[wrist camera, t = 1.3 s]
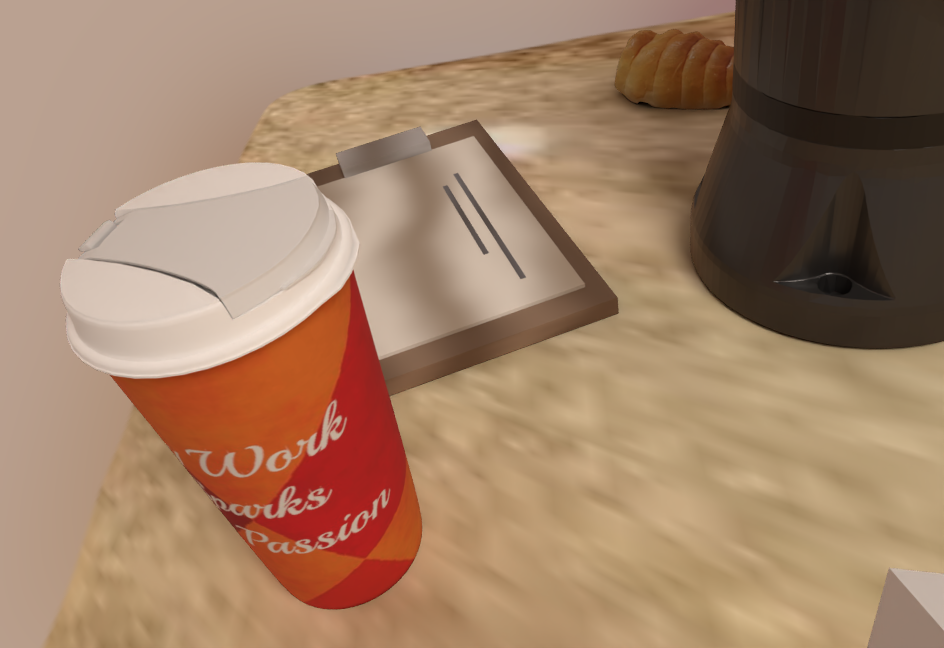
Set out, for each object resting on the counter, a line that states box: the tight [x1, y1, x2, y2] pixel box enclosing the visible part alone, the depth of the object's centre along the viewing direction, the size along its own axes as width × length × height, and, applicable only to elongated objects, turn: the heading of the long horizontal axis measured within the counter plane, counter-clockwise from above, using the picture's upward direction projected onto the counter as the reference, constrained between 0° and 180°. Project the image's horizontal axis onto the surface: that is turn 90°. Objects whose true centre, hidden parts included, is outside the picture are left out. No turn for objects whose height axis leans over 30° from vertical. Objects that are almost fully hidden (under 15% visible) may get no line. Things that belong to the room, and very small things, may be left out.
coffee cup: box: [60, 163, 422, 609], centre depth 25 cm, size 8×8×15 cm
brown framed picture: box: [306, 120, 619, 396], centre depth 44 cm, size 14×22×2 cm, turn 18°
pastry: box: [615, 29, 734, 109], centre depth 52 cm, size 9×7×4 cm
